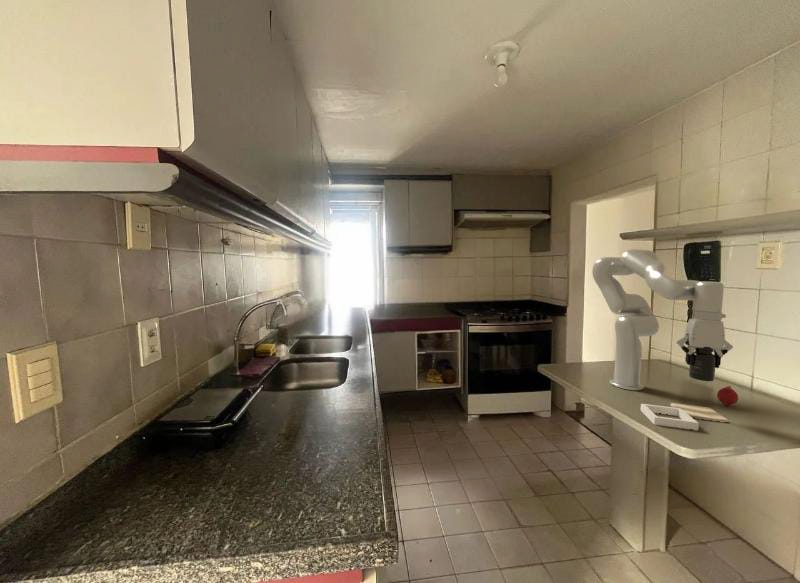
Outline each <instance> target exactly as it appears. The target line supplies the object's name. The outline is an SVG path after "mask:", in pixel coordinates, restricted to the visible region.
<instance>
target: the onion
mask: <svg viewBox="0 0 800 583" xmlns="http://www.w3.org/2000/svg"><path fill="white" fill-rule="evenodd" d="M716 397H717V399H718V401H719V402H720V403H721V404H723V405H724V406H726V407H730V406H732V405H734V404H737V402H738V401H739V395H738V393H737V392H736V391H735V390H734V389H733V388H732V386H731V385H727V386H725V387H722V388H720V389H719V390H718V391H717V394H716Z"/></svg>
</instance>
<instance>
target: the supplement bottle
mask: <svg viewBox="0 0 800 583" xmlns="http://www.w3.org/2000/svg"><path fill="white" fill-rule="evenodd" d="M692 355H694V361H693V366H690V365H689V370H688V377H690V378H691V379H693V380H698V381H703V382H713V381H715V374H716V368H715V365H716V356H715V355H714V352H713V349H712V348H711V347H704V348H696V349H695V350H694V352H693V353H692Z"/></svg>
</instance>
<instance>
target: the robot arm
mask: <svg viewBox="0 0 800 583" xmlns="http://www.w3.org/2000/svg"><path fill="white" fill-rule="evenodd" d="M665 269H666V267H665V264H664V263H662V262H661V261H659V260H658V256H657V254H656V253H655V252H654V251H653V250H648V249H629V250H628V249H627V250H626V251H624V252H623V253H622V254H621V256H619V257H617V256H605V257H600V258H598V259H597V260H596V261H595V262H594V264H593V266H592V270H591V271H592V272H591V274H592V278H593V279H594V280H593V281H594V283H595V284H596V285H597V287H598V288H599V290H600V292H601V293H602V295H603V296H602V297H603V298H604V300H605V302H606V304H607V307H608V308H609V310H610V312H611V313H612V314H615V315H620V317H618V318H617V319H616V320H615V322H614V331H615V342H616V343H615V355H614V356H615V358H614V372H613V378H611V379H609V384H611V385H612V386H613V385H614V386H613V387H616V388H619V389H623V390H627V391H642V390H644V387H645V386H644V384H642V383H641V382H640V381H641V380H640V379H641V367H642V354H643V346H642V342H641V340H640V337H651V336H655V335H656V334H657V333H659V332H658V331H659V328H660V326H659V321H658V319H657V318H656V316H655V314H654V311H653V310H652V308H651V307H650V304H649V303H648V302H647V300H646V298H645V297H643V296H641V295H640V294H635V293H628V292H626V290H624V288H623V286H622V284H621V282H619V280H617V279H616V277H614V276H629V275H630V276H631V275H634V274H636V275H638V276H639V277H641V278H643V279H644V281H645V283H646V285H647V287H648V288H649V289H650V290H651V291H653V292H654V293H656V294H658V295H659V296H661V297H662V298H664V299H666V300H670V301H693V306H692V318H689V319H688V321H687V324H686V327H685V332H684V336H683V338H681V339H679V340H677V341H676V344H677V345H678V346H679V347H680V349H681V350H682V351H683V352H684V353H685V359H684V360H685V363H686V365H688V366H689V367H690V366H693V361H694V355H692V353H693V352H694V351H695V349H696V348H704V347H711V348H712V349H713V352H712V353H713V354H714V355H715V356H716V365H715V369H719V368H720V366H721V362H722V361H721V360H722V358H723V357H724V355H726V354H727V353H729V351H731V350H732V349H734V346H733V345H732V344H731V343H729V341H727V340H726V335H725V334H726V333H725V324H724V322H723V321H722V320H723V319H724V318H726V317H727V314H726V313H723V299H724V291H725V289H724V288H725V286H724V284H723V283H722V282H720V281H709V280H707V281H700V280H694V279H693V280H692V279H674V278H672V277H669V276H668V275H666V274H664V271H665ZM621 315H622V316H621Z"/></svg>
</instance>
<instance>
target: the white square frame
mask: <svg viewBox="0 0 800 583" xmlns="http://www.w3.org/2000/svg"><path fill="white" fill-rule="evenodd" d="M640 412H642V414H643V415H644V416H646V418H647V419H648V420H649V421H650V422H651V423H652V424H653V425H656V426H662V427H671V428H676V427H677V429H683V428H684V429H685V430H690V429H693V430H692V431H699V426H700V424H699V422H698V421H697V419H693V418H692V417H691V416H689V415H688V414H687V413H686V412H684V411H683V410H682V409H680V408H673V407H672V406H663V405H656V404H648V403H640ZM659 413H661V414H660V415H666V414H668V416H675V417H678V418H671V417H664V416H657V415H656V414H659ZM684 429H683V430H684Z"/></svg>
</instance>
